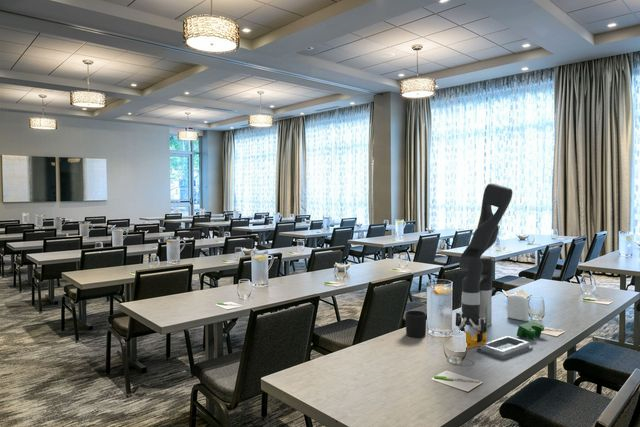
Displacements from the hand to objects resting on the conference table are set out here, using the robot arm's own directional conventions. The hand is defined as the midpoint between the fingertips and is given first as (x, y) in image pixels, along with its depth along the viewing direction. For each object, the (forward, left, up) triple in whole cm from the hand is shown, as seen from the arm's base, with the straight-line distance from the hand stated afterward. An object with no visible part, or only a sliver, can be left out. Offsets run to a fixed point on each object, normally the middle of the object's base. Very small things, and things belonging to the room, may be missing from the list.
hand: (470, 339), depth 195 cm
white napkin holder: (-9, +49, -2) cm, 50 cm away
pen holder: (-22, -10, -2) cm, 25 cm away
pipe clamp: (+1, 0, -2) cm, 2 cm away
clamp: (+10, +28, -2) cm, 30 cm away
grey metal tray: (+14, +4, -2) cm, 14 cm away
